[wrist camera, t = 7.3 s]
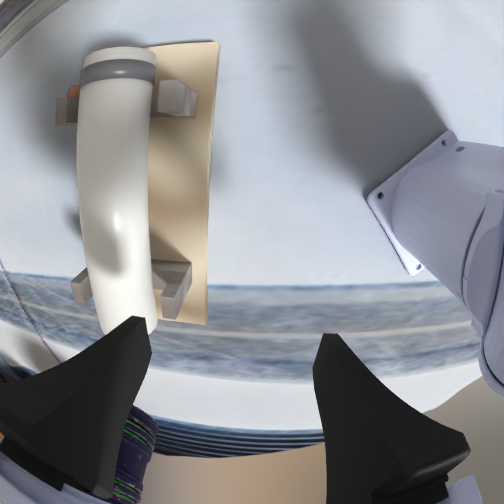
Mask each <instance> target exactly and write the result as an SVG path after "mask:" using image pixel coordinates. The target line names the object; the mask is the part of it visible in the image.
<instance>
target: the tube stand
mask: <svg viewBox="0 0 504 504" xmlns="http://www.w3.org/2000/svg"><path fill="white" fill-rule="evenodd" d="M143 49H147V50H150V51H152V52H153V53H155V54H156V64H155V66H156V75H155V84H154V86H153V89H152V99H151V111H150V125H149V145H148V218H149V239H150V254H151V266H152V277H153V287H154V296H155V304H156V312H157V319H163V320H170V321H178V322H185V323H193V324H202V325H205V324H206V320H207V245H208V208H209V184H210V164H211V147H212V132H213V119H214V107H215V95H216V85H217V75H218V65H219V56H220V45H219V42H200V43H184V44H172V45H163V46H155V47H148V48H143ZM79 97H80V90H79V86H73V87H71V88H70V89H69V91H68V93H67V97H66V98H62V99H58V100H57V110H56V125H77V121H78V107H79ZM70 283H71V287H72V291H73V295H74V299H75V302H78V303H82V304H85V303H86V302H87V301H88V300H89V298H90V297H91V296H92V295H93V294H92V289H91V285H90V280H89V275H88V270H87V268H85V269H84V270H83V271H82V272H81V273H80V274H79V275H77V276H76V277H75V278H74V279H73V280H72V281H71V282H70Z"/></svg>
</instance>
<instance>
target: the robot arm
mask: <svg viewBox="0 0 504 504" xmlns="http://www.w3.org/2000/svg"><path fill="white" fill-rule="evenodd" d="M442 140H443V142H444V145H442ZM380 192H381V193H382V196H381V198H379V199H378V197H377V195H378V193H380ZM367 202H368V204H369V206H370V207H371V209H372V210H373V212H374V214H375V215H376V217H377V218H378V220H379V222H380V223H381V225H382V227H383V228H384V230H385V232H386V234H387V235H388V237H389V239H390V241H391V242H392V244H393V246H394V248H395V250H396V251H397V253H398V255H399V257H400V259H401V261H402V263H403V264H404V266H405V268H406V270H407V272H408V274H409V275H410V276H415V275H416V274H418V273H419V272H420V271H421V270H422V269H424V268H425V267H426V268H427V269H428V270H429V271H430V272H431V273H432V274H433V275H434V276H435V277H436V278H437V279H438V280H440V281H441V282H442V283H443V284H444V285H445V286H446V287H447V288H448V289H449V290H450V291H451V292H452V293H453V294H454V295H455V296H456V297H457V298H458V299H459V300H460V301H461V302H462V303H463V304H464V305H465V306H466V307H467V308H468V310H469V311H470V312H471V314H472V324H471V325H472V326H473V327H474V329H475V330H476V331H477V332H478V333H479V335H480V336H481V337H482V340H481V343H480V347H479V366H480V369H481V372H482V375H483V377H484V379H485V381H486V382H487V384H488V385H489V387H490V388H491V389H492V390H493V391H494V392H495V393H496V394H497V395H499V396H500V397H501V398H503V399H504V147H499V146H493V145H487V144H480V143H473V142H465V141H458V140H457V138H456V136H455V134H454V132H453V131H451V130H447V131H445V132H444V133H443V134H442V135H441V136H440V137H438V138H437V139H436V140H435V141H434V142H432V143H431V144H430V145H429V146H428V147H426V148H425V149H424V150H423V151H422V152H420V153H419V154H418V155H417V156H415V157H414V158H413V159H412V160H411V161H409V162H408V163H407V164H406V165H405V166H403V167H402V168H401V169H400V170H398V171H397V172H396V173H395V174H393V175H392V176H391V177H390V178H388V179H387V180H386V181H385V182H383V183H382V184H381V185H380V186H378V187H377V188H376V189H375V190H373V191H372V192H371V193H370V194H369V195H368V197H367ZM418 264H419V266H418V267H417V265H418ZM416 267H417V268H416ZM151 355H152V351H151V346H150V341H149V336H148V331H147V325H146V319H145V317H139V316H133V315H132V316H131V317H129V318H128V319H126V320H125V321H124V322H122V323H121V324H120V325H118V326H117V327H116V328H114V329H113V330H112V331H110V332H109V333H108V334H106V335H105V336H104V337H102V338H101V339H100V340H98V341H97V342H95V343H94V344H92V345H91V346H89V347H88V348H86V349H85V350H83V351H82V352H80V353H79V354H77V355H76V356H74V357H72V358H71V359H69V360H67V361H65V362H63V363H61V364H59V365H57V366H55V367H53V368H51V369H48V370H46V371H44V372H41V373H39V374H36V375H34V376H31V377H28V378H24V379H21V380H17V381H14V382H9V383H4V384H0V432H1V433H2V435H3V436H4V438H3V440H1V439H0V503H1V504H110V503H107V502H105V501H102V500H100V499H97V498H95V497H93V496H90V495H88V494H86V493H84V491H85V492H87V493H89V494H95V495H97V496H100V497H102V498H105V499H108V498H111V497H113V490H114V479H115V471H116V464H117V458H118V453H119V448H120V443H121V439H122V435H123V431H124V427H125V424H126V420H127V418H128V415H129V412H130V410H131V407H132V405H133V403H134V400H135V398H136V396H137V393H138V391H139V389H140V387H141V384H142V382H143V380H144V377H145V375H146V372H147V369H148V366H149V362H150V359H151ZM313 380H314V390H315V395H316V399H317V404H318V409H319V413H320V418H321V423H322V427H323V432H324V439H325V448H326V466H327V499H326V504H483V502H482V499H481V495H480V492H479V489H478V487H477V484H476V481H475V478H474V476H473V474H470V475H469V476H467V477H465V478H463V479H461V480H459V481H457V482H456V483H454V484H452V485H450V486H448V487H447V488H446V485H445V482H447V481H448V475H447V473H448V472H449V471H450V470H452V469H453V468H454V467H456V466H457V465H458V464H459V463H461V462H462V461H463V460H464V459H465V458H466V457H467V456H468V455H469V453H470V451H471V450H470V447H469V445H468V443H467V441H466V439H465V436H464V434H463V433H462V432H459V431H456V430H454V429H451V428H449V427H446V426H444V425H442V424H440V423H438V422H436V421H434V420H432V419H430V418H428V417H427V416H425V415H423V414H422V413H420V412H419V411H417V410H416V409H414V408H413V407H411V406H410V405H408V404H407V403H405V402H404V401H403V400H401V399H400V398H399V397H398V396H396V395H395V394H394V393H393V392H392V391H390V390H389V389H388V388H387V387H386V386H385V385H384V384H383V383H382V382H381V381H380V380H379V379H378V378H376V377H375V376H374V375H373V374H372V372H371V371H370V370H369V369H368V368H367V367H366V366H365V365H364V364H363V363H362V362H361V361H360V359H359V358H358V357H357V356H356V355H355V354H354V352H353V351H352V350H351V349H350V348H349V347H348V345H347V344H346V343H345V342H344V341H343V339H342V338H341V337H340V336H339V335H338V334H327V333H323V336H322V339H321V343H320V346H319V349H318V353H317V356H316V359H315V362H314V365H313Z"/></svg>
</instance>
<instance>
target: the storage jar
mask: <svg viewBox="0 0 504 504" xmlns="http://www.w3.org/2000/svg"><path fill="white" fill-rule="evenodd" d="M157 433H158V425H157V423H156V422H155V421H154V420H153V419H152V418H151V417H150V416H149V415H148V414H147V413H145V412H144V411H142V410H140V409H139V408H137V407H135V406H133V405H132V407H131V410H130V412H129V415H128V418H127V420H126V424H125V427H124V431H123V435H122V439H121V443H120V448H119V453H118V458H117V464H116V471H115V479H114V490H113V497H111V498H108V499H105V498H102V497H100V496H97V495H95V494H89V493H87V492H85V491H84V493H86V494H88V495H90V496H93V497H95V498H97V499H100V500H102V501H105V502H107V503H110V504H139V503H140V500H141V496H140V495H141V493H142V491H143V484H142V481H143V477H144V473H145V469H146V466H147V463H148V462H149V461H150V459H151V455H152V452H153V451H154V447H155V440H156V435H157Z"/></svg>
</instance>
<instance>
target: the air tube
mask: <svg viewBox="0 0 504 504" xmlns="http://www.w3.org/2000/svg"><path fill="white" fill-rule="evenodd" d="M155 64H156V54H155V53H153V52H152V51H150V50H147V49H143V48H137V47H112V48H106V49H102V50H98V51H95V52H93V53H91V54H89V55H88V56H87V57H86V58H85V61H84V67H83V69H82V71H81V77H80V84H79V90H80V97H79V107H78V121H77V189H78V203H79V214H80V224H81V232H82V240H83V246H84V253H85V259H86V265H87V270H88V275H89V280H90V285H91V289H92V294H93V298H94V302H95V306H96V310H97V314H98V318H99V322H100V325H101V329H102V331H103V332H104V334H105V335H106V334H108V333H109V332H110V331H112V330H113V329H114V328H116V327H117V326H118V325H120V324H121V323H122V322H124V321H125V320H126V319H128V318H129V317H131V316H132V315H133V316H139V317H145V319H146V325H147V331H148V334H150V333H151V332H152V331H153V330H154V329H155V327H156V325H157V312H156V304H155V296H154V287H153V277H152V266H151V254H150V239H149V218H148V145H149V125H150V111H151V99H152V89H153V86H154V84H155V75H156V66H155Z"/></svg>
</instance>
